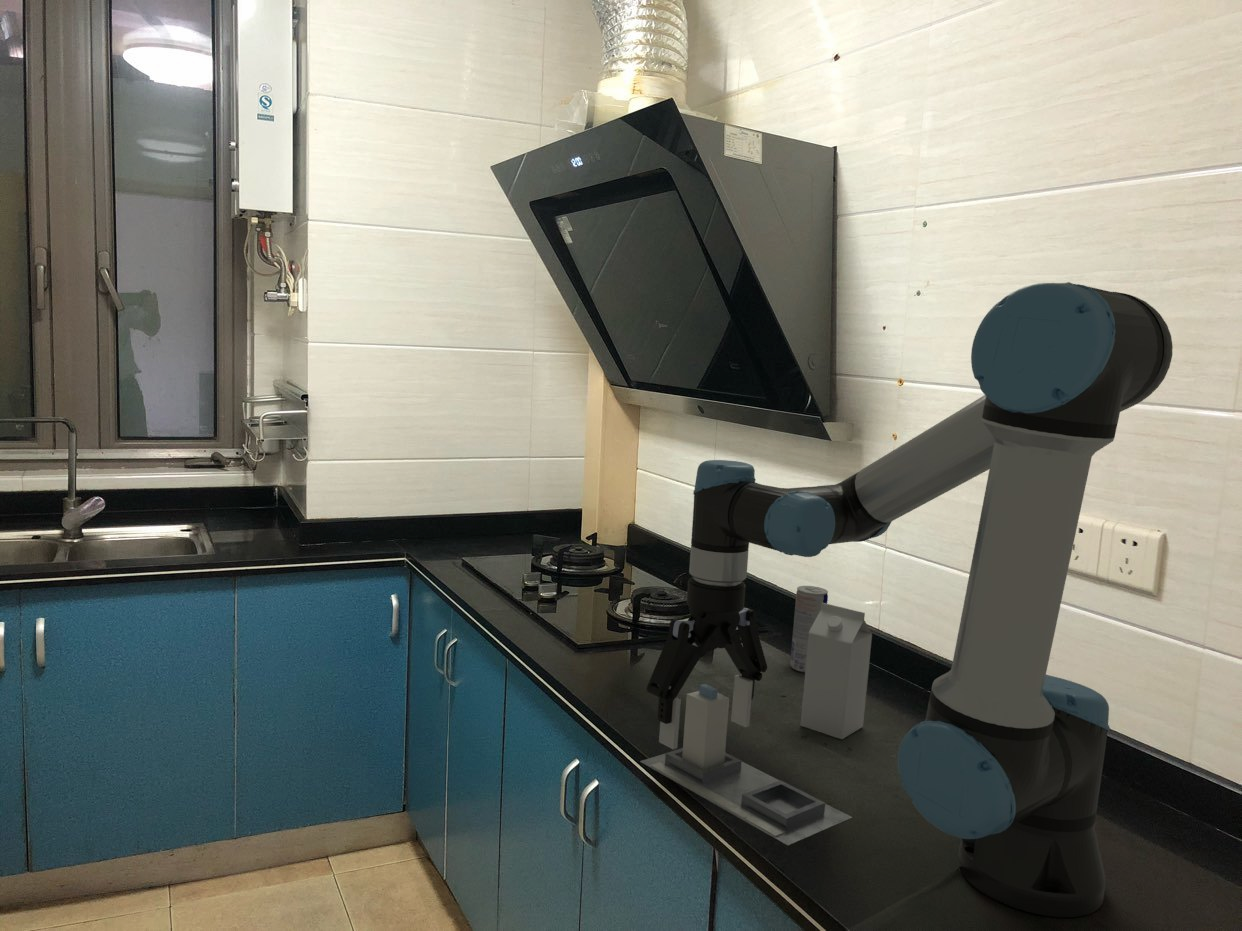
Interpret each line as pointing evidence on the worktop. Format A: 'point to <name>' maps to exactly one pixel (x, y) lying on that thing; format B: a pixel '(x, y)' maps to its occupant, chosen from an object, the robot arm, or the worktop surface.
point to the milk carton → (836, 672)
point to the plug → (705, 727)
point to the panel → (752, 796)
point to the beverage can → (805, 622)
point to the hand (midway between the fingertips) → (705, 734)
